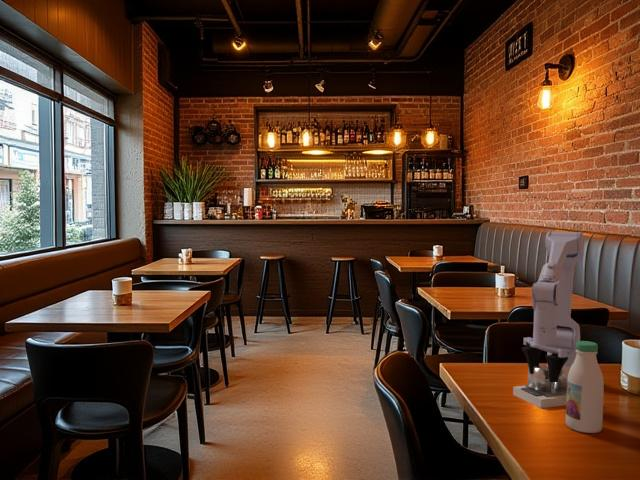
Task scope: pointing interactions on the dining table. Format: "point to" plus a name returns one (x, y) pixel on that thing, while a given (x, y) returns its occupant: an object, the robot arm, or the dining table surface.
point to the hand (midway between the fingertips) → (543, 377)
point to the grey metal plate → (548, 393)
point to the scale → (539, 397)
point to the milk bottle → (585, 390)
